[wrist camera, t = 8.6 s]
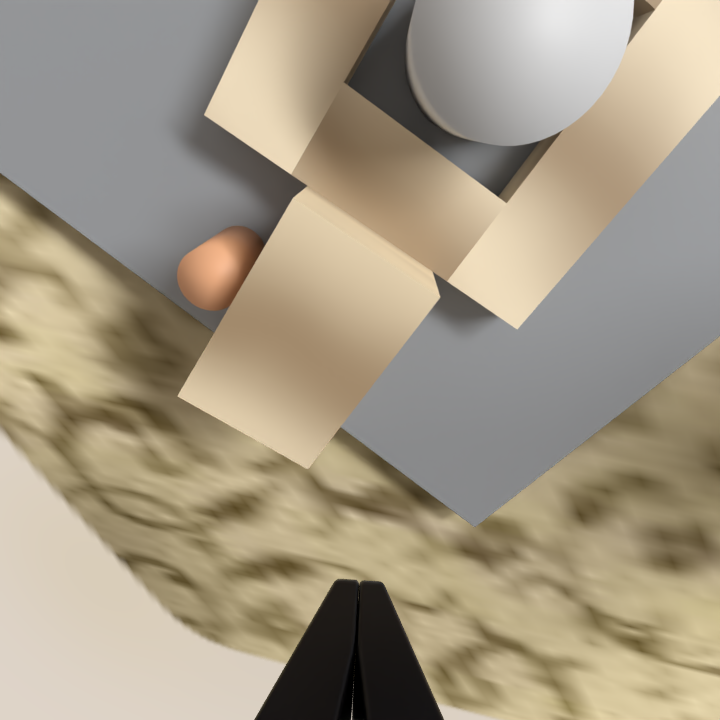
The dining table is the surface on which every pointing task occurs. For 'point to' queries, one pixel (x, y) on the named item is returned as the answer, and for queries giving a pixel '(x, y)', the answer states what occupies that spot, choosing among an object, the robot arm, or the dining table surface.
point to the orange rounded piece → (219, 267)
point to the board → (441, 132)
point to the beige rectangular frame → (411, 208)
